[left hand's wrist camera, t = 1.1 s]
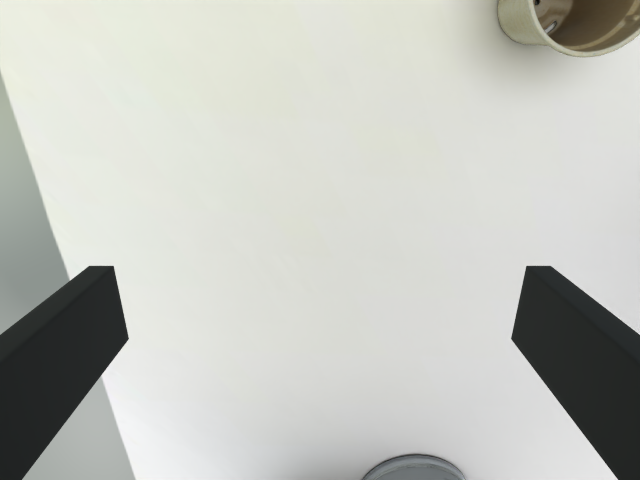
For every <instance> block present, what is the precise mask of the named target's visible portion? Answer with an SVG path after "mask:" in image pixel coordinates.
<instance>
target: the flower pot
mask: <svg viewBox="0 0 640 480" xmlns="http://www.w3.org/2000/svg"><path fill="white" fill-rule="evenodd" d="M535 1H536V0H499V5H498V18H499V22H500V25H501V27H502V29H503V31H504V32H505V33H506V34H507V35H508V36H509V37H510V38H511V39H512V40H514V41H516V42H519V43H522V44H527V45H546V46H550V47H552V48H553V49H555V50H556V51H558V52H561V53H563V54H566V55H569V56H574V57H594V56H601V55H604V54H607V53H610V52H612V51H615V50H617V49H619V48H621V47H623V46H624V45H626V44H627V43H629V42H630V41H632V40H633V39H634V38H636V37H637V36H638V35H639V34H640V0H539V1H540V2H539V4H538V5H535ZM554 21H556V25H555V27H554V28H553V29H552V30H551V31H550V32H549V33H547V34H546V33H545V31H544V30H545V29H546V28H548V27H549V26H550V25H551V24H552V23H553V22H554Z"/></svg>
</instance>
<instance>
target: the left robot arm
mask: <svg viewBox="0 0 640 480" xmlns="http://www.w3.org/2000/svg"><path fill="white" fill-rule="evenodd" d="M128 339H129V338H128V333H127V328H126V323H125V319H124V314H123V309H122V304H121V299H120V295H119V290H118V285H117V280H116V276H115V271H114V266H89V267H87V268H86V269H85V270H84V271H82V272H81V273H80V274H78V275H77V276H76V277H75V278H73V279H72V280H71V281H69V282H68V283H67V284H66V285H64V286H63V287H62V288H60V289H59V290H58V291H56V292H55V293H54V294H53V295H51V296H50V297H49V298H47V299H46V300H45V301H44V302H42V303H41V304H40V305H38V306H37V307H36V308H34V309H33V310H32V311H31V312H29V313H28V314H27V315H25V316H24V317H23V318H22V319H20V320H19V321H18V322H16V323H15V324H14V325H13V326H11V327H10V328H9V329H7V330H6V331H5V332H3V333H2V334H1V335H0V480H22V479H23V477H24V476H25V475H26V473H27V472H28V471H29V469H30V468H31V467H32V466H33V464H34V463H35V462H36V460H37V459H38V458H39V456H40V455H41V454H42V452H43V451H44V450H45V448H46V447H47V446H48V445H49V443H50V442H51V441H52V439H53V438H54V437H55V435H56V434H57V433H58V431H59V430H60V429H61V427H62V426H63V425H64V423H65V422H66V421H67V420H68V418H69V417H70V416H71V414H72V413H73V412H74V410H75V409H76V408H77V406H78V405H79V404H80V402H81V401H82V400H83V398H84V397H85V396H86V395H87V393H88V392H89V391H90V389H91V388H92V387H93V385H94V384H95V383H96V381H97V380H98V379H99V377H100V376H101V375H102V373H103V372H104V371H105V370H106V368H107V367H108V366H109V364H110V363H111V362H112V360H113V359H114V358H115V356H116V355H117V354H118V352H119V351H120V350H121V349H122V347H123V346H124V345H125V343H126V342H127V341H128ZM511 339H512V341H513V342H514V343H515V345H516V346H517V347H518V349H519V350H520V351H521V352H522V354H523V355H524V356H525V358H526V359H527V360H528V362H529V363H530V364H531V366H532V367H533V368H534V370H535V371H536V372H537V373H538V375H539V376H540V377H541V379H542V380H543V381H544V383H545V384H546V385H547V387H548V388H549V389H550V391H551V392H552V393H553V395H554V396H555V397H556V398H557V400H558V401H559V402H560V404H561V405H562V406H563V408H564V409H565V410H566V412H567V413H568V414H569V416H570V417H571V418H572V420H573V421H574V422H575V423H576V425H577V426H578V427H579V429H580V430H581V431H582V433H583V434H584V435H585V437H586V438H587V439H588V441H589V442H590V443H591V445H592V446H593V447H594V448H595V450H596V451H597V452H598V454H599V455H600V456H601V458H602V459H603V460H604V462H605V463H606V464H607V466H608V467H609V468H610V470H611V471H612V472H613V473H614V475H615V476H616V477H617V479H618V480H640V335H639V334H638V333H637V332H635V331H634V330H633V329H631V328H630V327H629V326H627V325H626V324H625V323H624V322H622V321H621V320H620V319H618V318H617V317H616V316H615V315H613V314H612V313H611V312H609V311H608V310H607V309H606V308H604V307H603V306H602V305H600V304H599V303H598V302H596V301H595V300H594V299H593V298H591V297H590V296H589V295H587V294H586V293H585V292H584V291H582V290H581V289H580V288H578V287H577V286H576V285H575V284H573V283H572V282H571V281H569V280H568V279H567V278H565V277H564V276H563V275H562V274H560V273H559V272H558V271H556V270H555V269H554V268H553V267H551V266H526V271H525V276H524V280H523V285H522V290H521V295H520V299H519V304H518V309H517V314H516V319H515V323H514V328H513V333H512V338H511ZM363 480H465V478H464V476H463V475H462V473H461V472H460V471H459V470H458V469H457V468H456V467H455V466H453V465H452V464H450V463H448V462H446V461H444V460H442V459H439V458H435V457H431V456H422V455H412V456H403V457H399V458H395V459H392V460H389V461H386V462H384V463H382V464H380V465H379V466H377V467H375V468H374V469H373V470H371V471H370V472H369V473H368V474H367V475H366V476H365V477H364V479H363Z"/></svg>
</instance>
